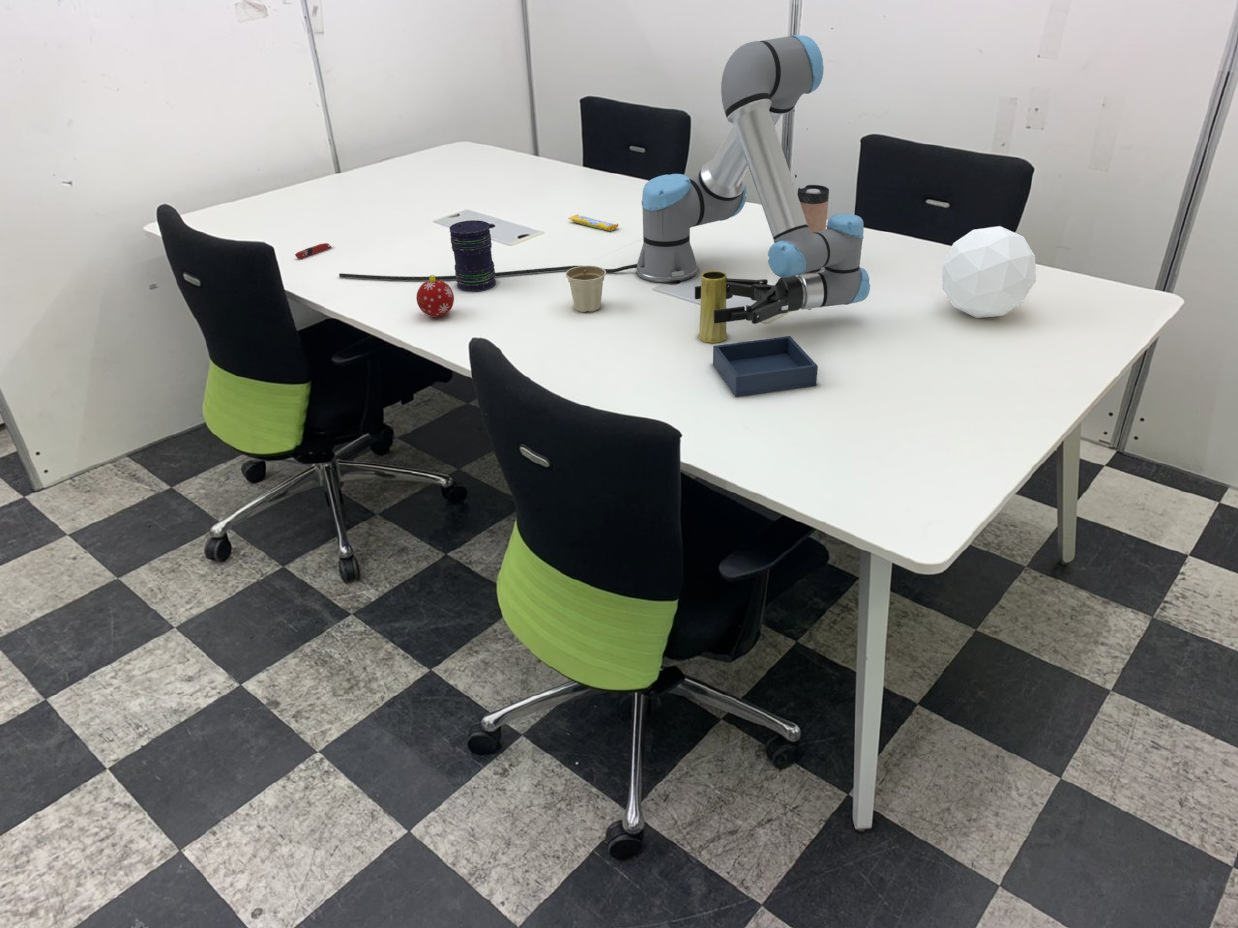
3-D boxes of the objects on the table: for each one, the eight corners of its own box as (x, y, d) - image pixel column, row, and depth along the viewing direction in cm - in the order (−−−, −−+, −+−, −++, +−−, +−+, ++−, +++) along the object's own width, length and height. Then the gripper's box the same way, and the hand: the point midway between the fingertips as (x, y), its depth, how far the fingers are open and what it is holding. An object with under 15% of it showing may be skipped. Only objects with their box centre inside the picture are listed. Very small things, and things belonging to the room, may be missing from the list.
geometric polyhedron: (981, 350, 208) (979, 302, 191) (926, 293, 218) (919, 243, 201) (1055, 301, 206) (1059, 248, 189) (995, 246, 217) (994, 191, 200)
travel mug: (822, 274, 232) (829, 194, 221) (791, 273, 233) (797, 193, 222) (822, 263, 238) (829, 185, 228) (791, 262, 240) (797, 184, 229)
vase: (696, 332, 205) (697, 270, 198) (724, 330, 206) (725, 269, 198) (701, 344, 200) (701, 281, 193) (729, 342, 201) (731, 279, 193)
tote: (735, 397, 180) (736, 377, 177) (712, 364, 192) (713, 345, 189) (816, 385, 182) (818, 365, 180) (788, 354, 194) (790, 335, 192)
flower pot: (613, 301, 222) (611, 267, 217) (599, 317, 215) (597, 281, 210) (576, 298, 225) (574, 264, 220) (562, 313, 217) (559, 278, 213)
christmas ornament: (415, 312, 221) (409, 272, 216) (451, 305, 224) (445, 266, 218) (424, 325, 214) (417, 284, 209) (460, 318, 217) (454, 277, 212)
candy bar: (620, 229, 267) (620, 222, 266) (611, 233, 265) (610, 226, 264) (577, 219, 277) (577, 212, 276) (568, 222, 274) (567, 216, 273)
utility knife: (297, 260, 255) (296, 253, 254) (295, 259, 256) (293, 252, 255) (332, 248, 263) (331, 241, 262) (330, 247, 263) (328, 240, 262)
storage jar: (503, 280, 237) (497, 222, 229) (483, 294, 229) (475, 235, 221) (470, 275, 240) (463, 218, 232) (449, 289, 233) (440, 230, 225)
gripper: (819, 331, 194) (722, 344, 190) (776, 288, 214) (687, 299, 211) (822, 297, 190) (723, 310, 186) (778, 257, 210) (687, 267, 207)
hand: (704, 304), depth 198 cm, fingers open, 13 cm apart
